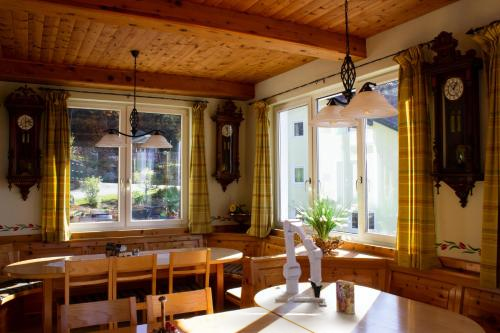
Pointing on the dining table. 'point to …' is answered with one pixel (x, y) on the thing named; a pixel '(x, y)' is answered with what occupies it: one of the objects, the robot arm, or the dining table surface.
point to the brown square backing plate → (281, 300)
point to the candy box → (345, 296)
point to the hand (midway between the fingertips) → (316, 296)
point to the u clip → (313, 294)
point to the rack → (311, 300)
